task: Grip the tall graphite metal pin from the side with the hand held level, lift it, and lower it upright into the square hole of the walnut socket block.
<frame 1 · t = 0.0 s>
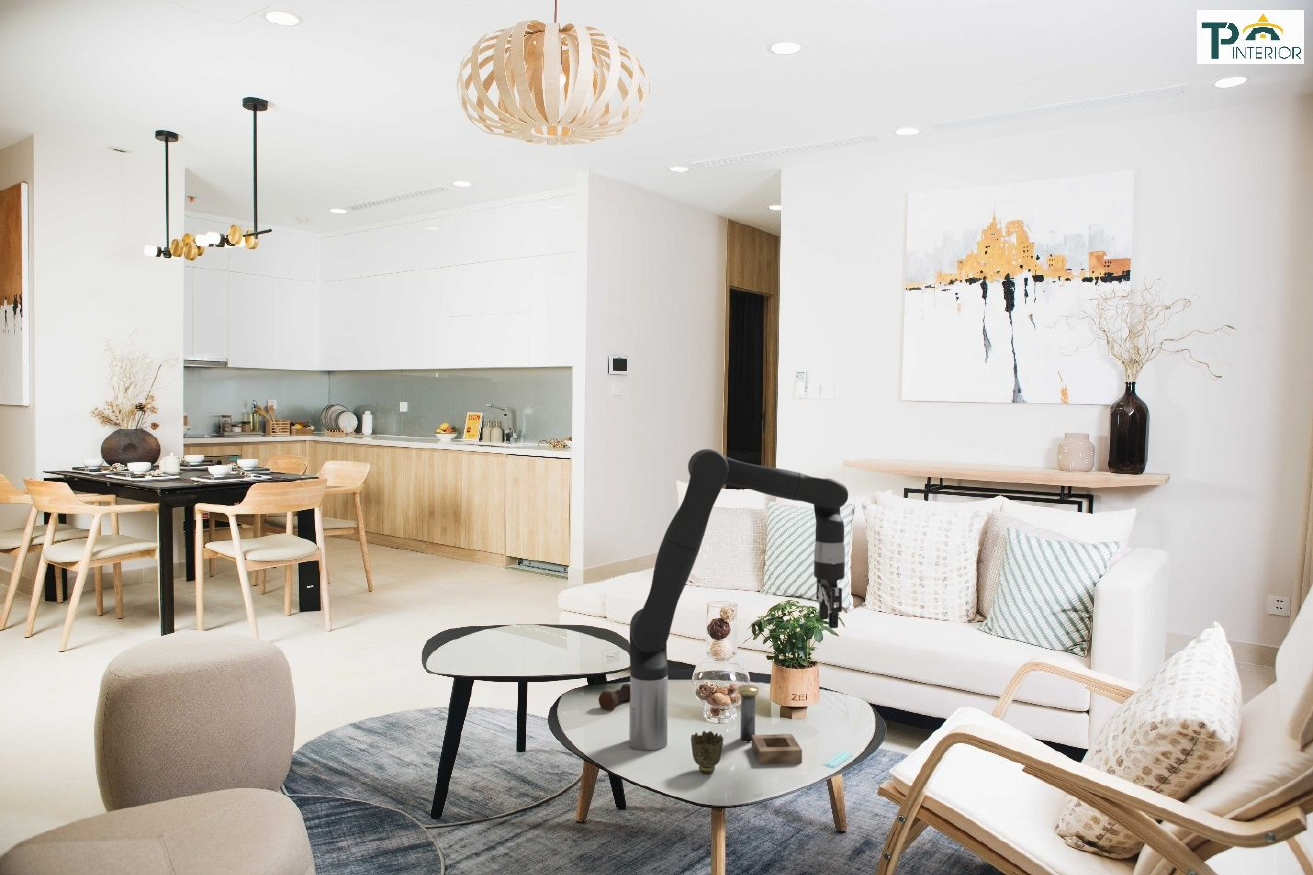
hand: (828, 623, 221), 29 cm above the table, tool pointing down, fingers open, 8 cm apart
socket block: (776, 754, 212), on the table
cup: (706, 772, 203), on the table
pin: (747, 739, 222), on the table
brown hex dumbbell: (622, 703, 248), on the table
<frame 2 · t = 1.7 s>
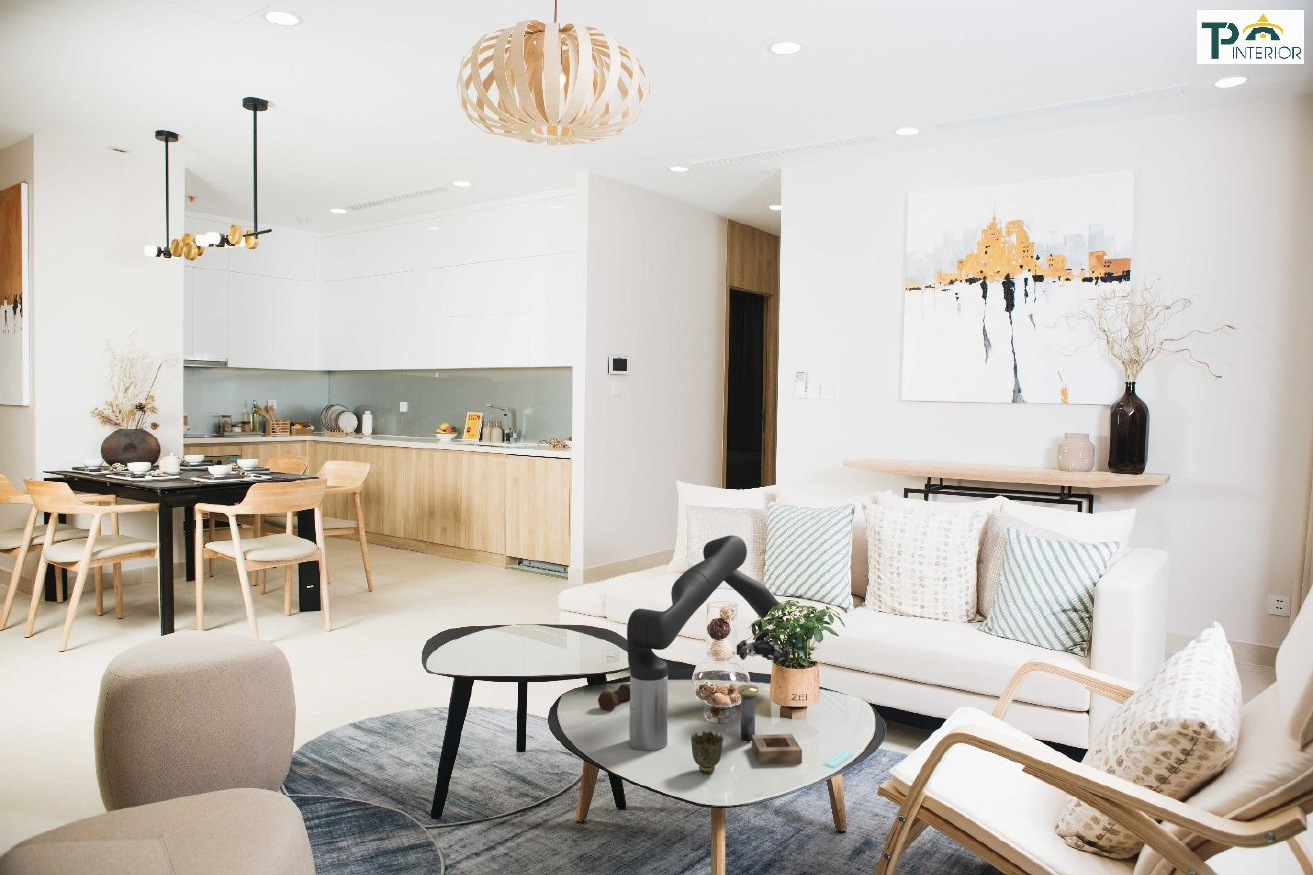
hand: (758, 657, 231), 18 cm above the table, tool horizontal, fingers open, 8 cm apart
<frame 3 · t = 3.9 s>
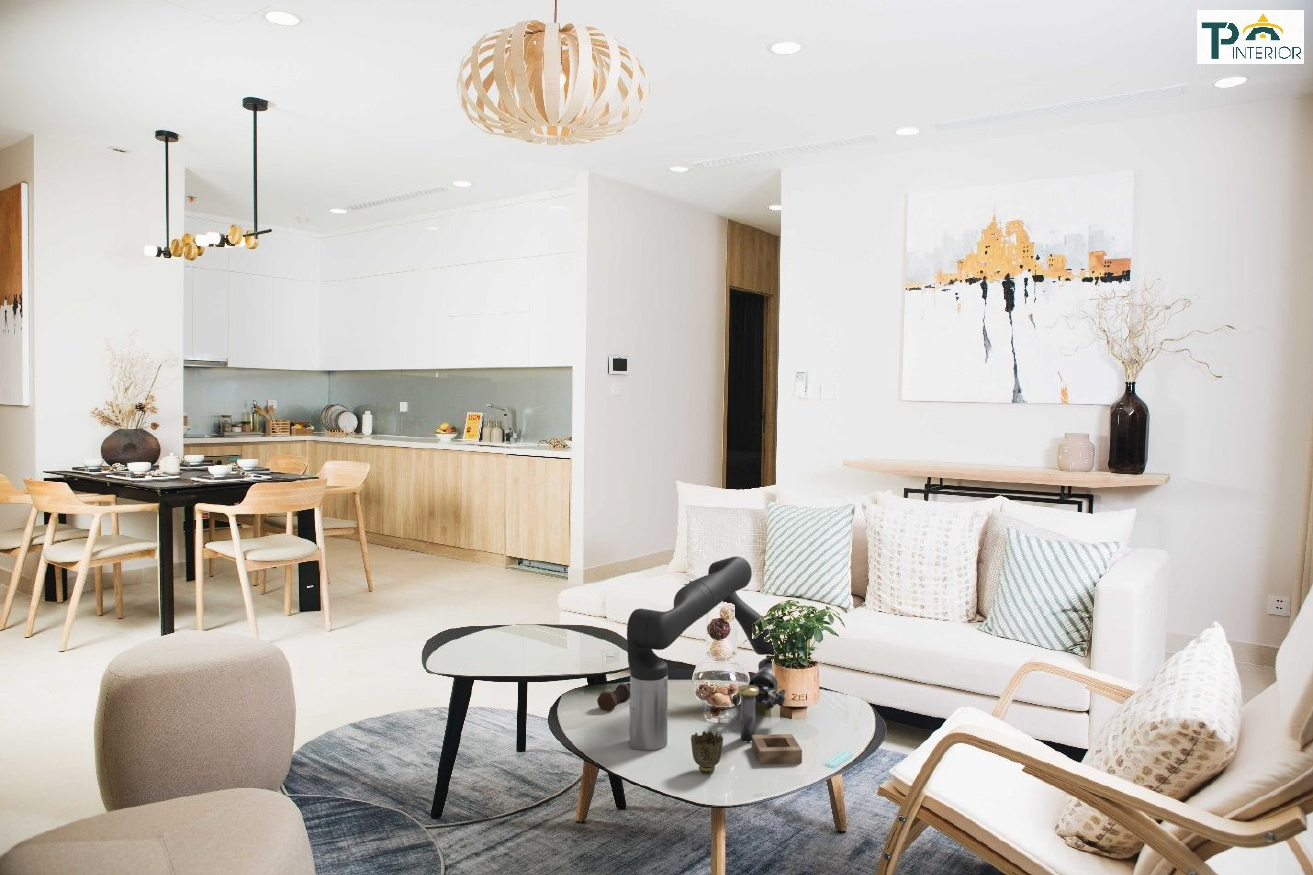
hand: (751, 704, 226), 7 cm above the table, tool horizontal, fingers open, 8 cm apart
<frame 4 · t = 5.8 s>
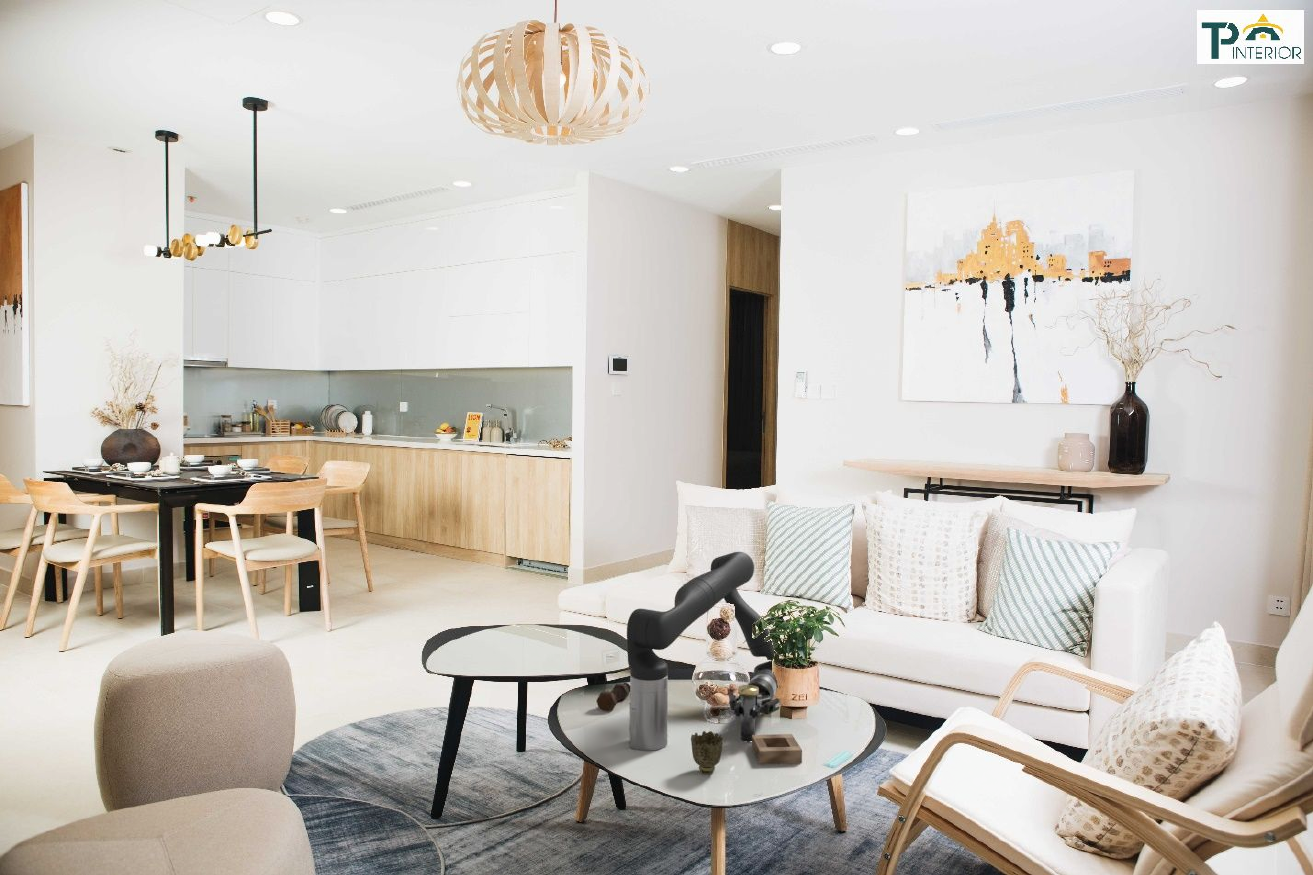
hand: (745, 713, 219), 8 cm above the table, tool horizontal, fingers closed on pin, 3 cm apart
pin: (747, 739, 222), on the table, touching gripper
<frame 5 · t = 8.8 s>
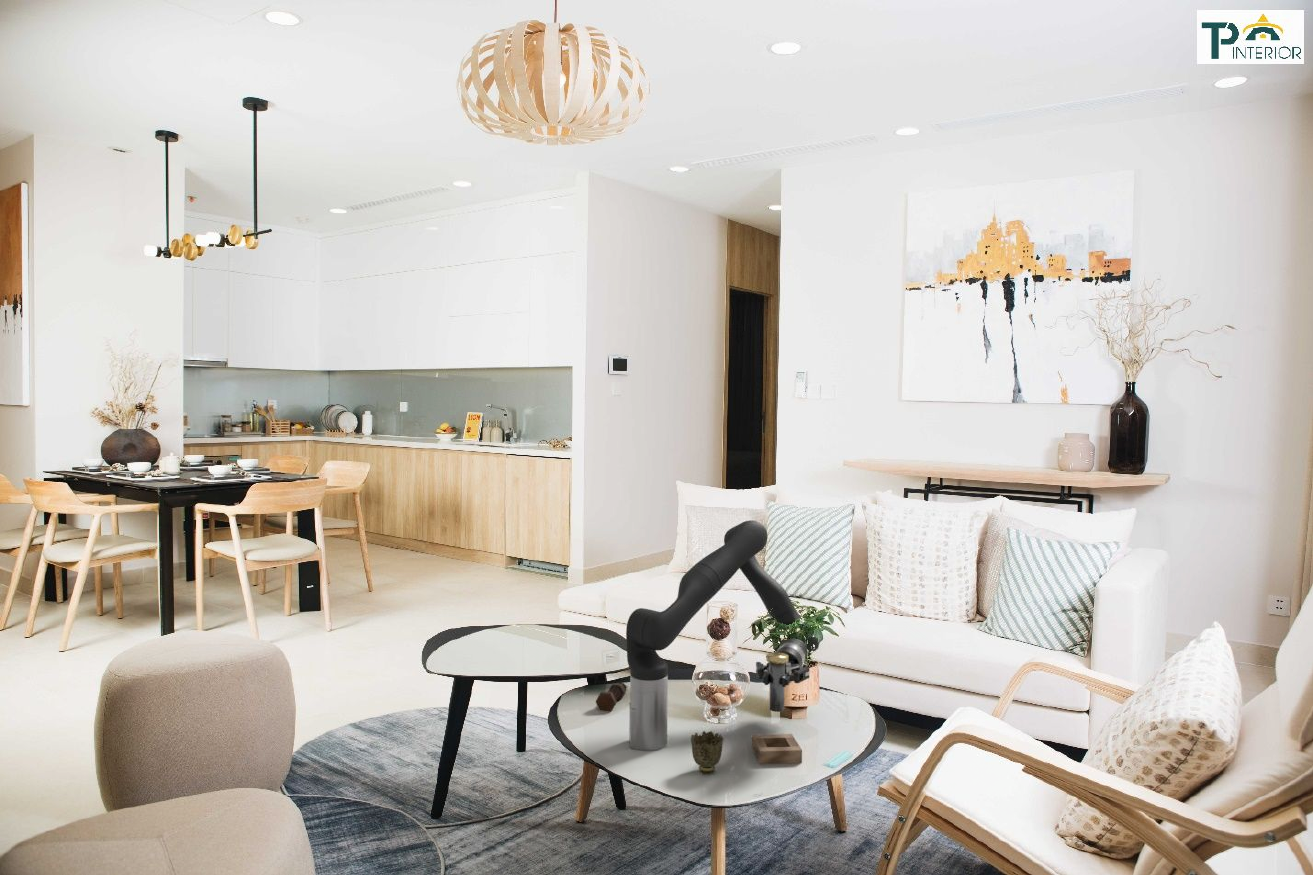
hand: (774, 681, 209), 19 cm above the table, tool horizontal, fingers closed on pin, 3 cm apart
pin: (776, 708, 212), point 11 cm above the table, touching gripper
when the fingers open (8 cm above the table, at t = 11.7 s): pin stays where it is, resting in socket block.
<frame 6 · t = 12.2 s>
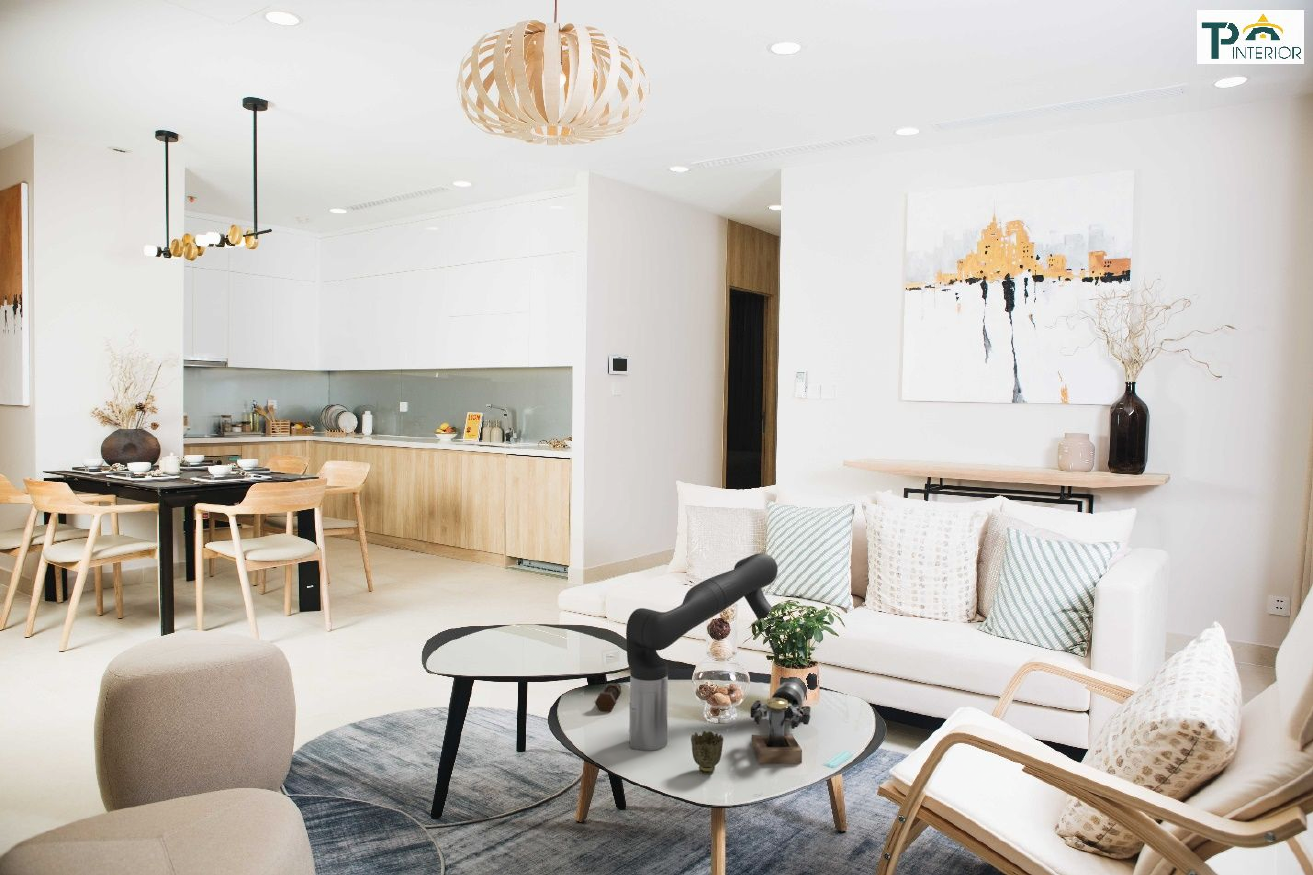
hand: (775, 722, 210), 9 cm above the table, tool horizontal, fingers open, 8 cm apart
pin: (776, 754, 212), resting in socket block
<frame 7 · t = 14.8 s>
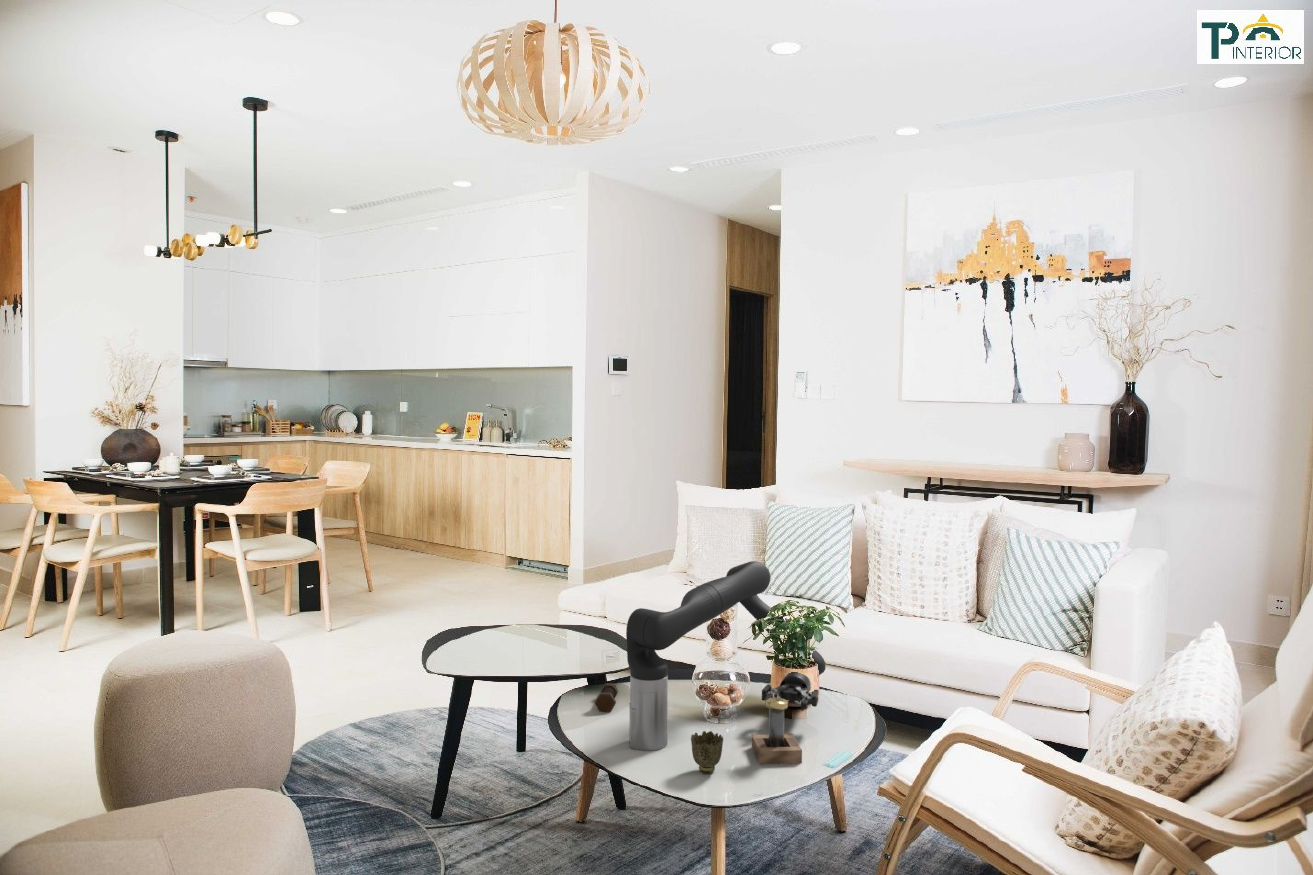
hand: (785, 704, 222), 9 cm above the table, tool horizontal, fingers open, 8 cm apart
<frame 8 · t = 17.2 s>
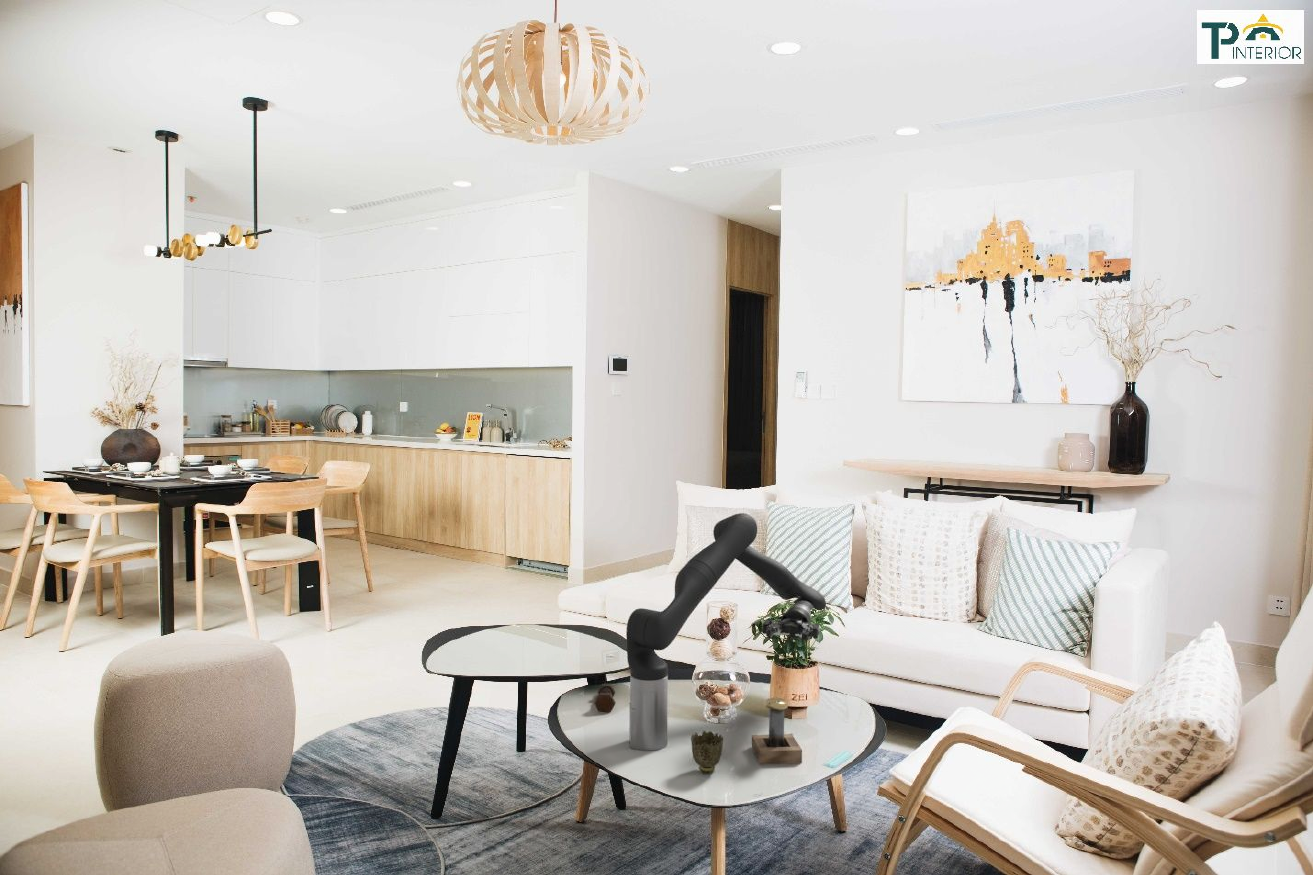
hand: (786, 635, 222), 26 cm above the table, tool horizontal, fingers open, 8 cm apart
at the end: pin 0.1 cm off-centre on the socket block, point 0.0 cm above the socket block's base; pin tilted 0°; the gripper is holding nothing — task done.
